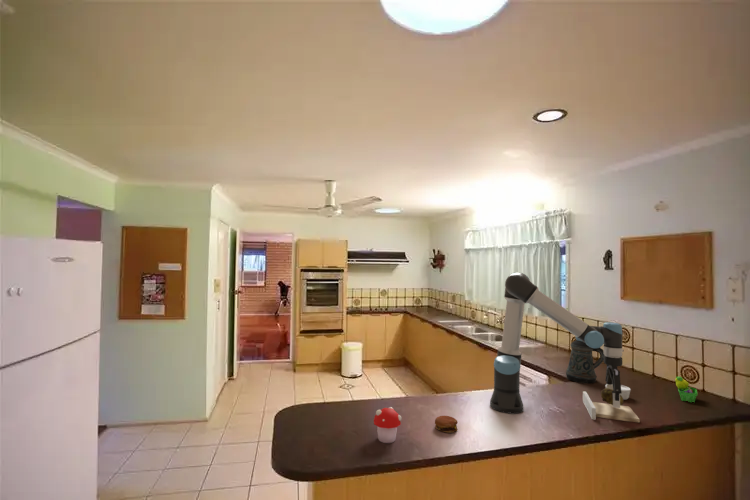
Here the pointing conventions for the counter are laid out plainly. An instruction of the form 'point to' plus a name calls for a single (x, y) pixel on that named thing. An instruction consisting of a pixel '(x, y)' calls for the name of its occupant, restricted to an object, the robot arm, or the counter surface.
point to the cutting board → (615, 412)
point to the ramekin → (624, 391)
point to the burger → (446, 424)
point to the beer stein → (583, 363)
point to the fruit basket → (685, 390)
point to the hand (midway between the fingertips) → (613, 402)
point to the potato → (609, 396)
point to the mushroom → (387, 424)
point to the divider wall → (589, 405)
